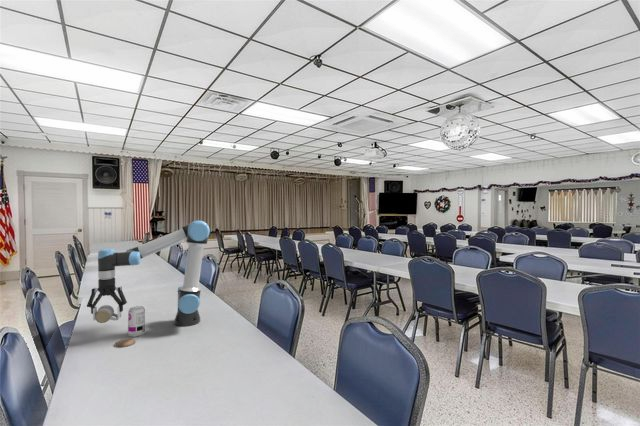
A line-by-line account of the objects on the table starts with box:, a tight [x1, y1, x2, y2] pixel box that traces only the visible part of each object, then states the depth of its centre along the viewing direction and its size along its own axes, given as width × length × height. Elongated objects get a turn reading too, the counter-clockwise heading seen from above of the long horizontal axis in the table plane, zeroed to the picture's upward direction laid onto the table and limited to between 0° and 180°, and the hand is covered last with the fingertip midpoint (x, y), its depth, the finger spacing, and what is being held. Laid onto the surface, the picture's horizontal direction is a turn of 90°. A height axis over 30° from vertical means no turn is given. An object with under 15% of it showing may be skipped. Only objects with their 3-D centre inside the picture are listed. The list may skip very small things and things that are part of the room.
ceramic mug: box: [95, 304, 119, 324], centre depth 170 cm, size 11×8×8 cm
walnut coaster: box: [115, 338, 137, 348], centre depth 165 cm, size 9×9×1 cm
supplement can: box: [127, 305, 146, 338], centre depth 178 cm, size 8×8×15 cm
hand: (107, 318), depth 170 cm, fingers closed on ceramic mug, 11 cm apart
